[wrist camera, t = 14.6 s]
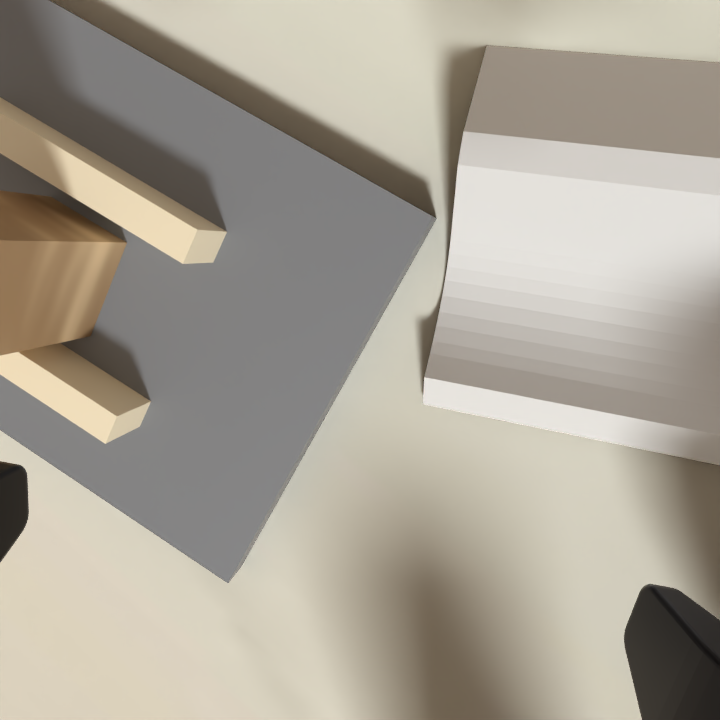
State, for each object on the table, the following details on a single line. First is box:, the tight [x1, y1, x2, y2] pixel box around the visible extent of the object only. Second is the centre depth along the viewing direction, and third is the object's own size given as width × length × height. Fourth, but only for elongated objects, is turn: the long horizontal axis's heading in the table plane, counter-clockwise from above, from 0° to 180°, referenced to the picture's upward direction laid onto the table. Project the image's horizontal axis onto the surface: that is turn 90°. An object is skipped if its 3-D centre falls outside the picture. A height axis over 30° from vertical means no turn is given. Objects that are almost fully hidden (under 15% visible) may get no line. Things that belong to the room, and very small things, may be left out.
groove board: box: [0, 0, 437, 583], centre depth 21 cm, size 22×16×3 cm
